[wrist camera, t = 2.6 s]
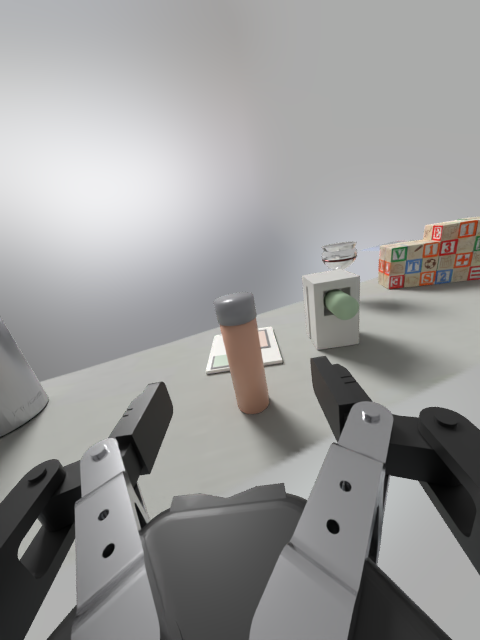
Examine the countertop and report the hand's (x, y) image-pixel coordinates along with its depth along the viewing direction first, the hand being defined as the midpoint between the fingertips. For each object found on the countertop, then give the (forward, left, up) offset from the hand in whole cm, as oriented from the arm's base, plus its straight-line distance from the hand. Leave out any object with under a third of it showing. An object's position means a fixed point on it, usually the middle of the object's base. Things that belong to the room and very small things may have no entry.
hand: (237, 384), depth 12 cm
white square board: (-1, +24, -11) cm, 26 cm away
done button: (+13, +19, -5) cm, 23 cm away
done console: (+13, +23, -11) cm, 28 cm away
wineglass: (+21, +39, -11) cm, 45 cm away
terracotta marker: (0, +11, -11) cm, 15 cm away
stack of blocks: (+43, +42, -11) cm, 61 cm away
